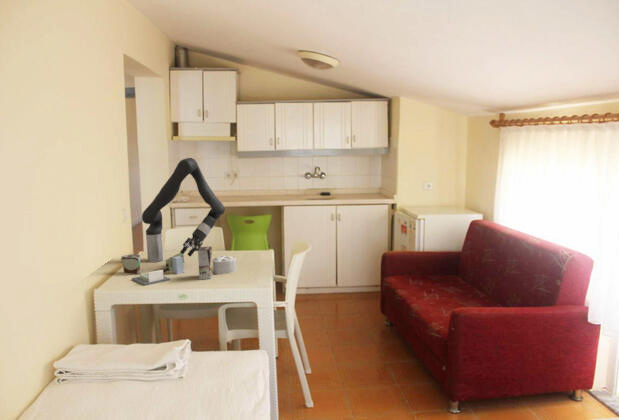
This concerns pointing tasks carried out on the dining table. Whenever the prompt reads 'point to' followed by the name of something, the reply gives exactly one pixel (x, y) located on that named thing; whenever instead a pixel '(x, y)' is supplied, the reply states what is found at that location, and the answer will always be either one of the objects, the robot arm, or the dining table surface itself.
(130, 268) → the food container
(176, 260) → the block
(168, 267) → the handheld radio
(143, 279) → the charging dock
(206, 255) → the coffee box
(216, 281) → the dining table surface
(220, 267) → the lumpy-topped squat cylinder
